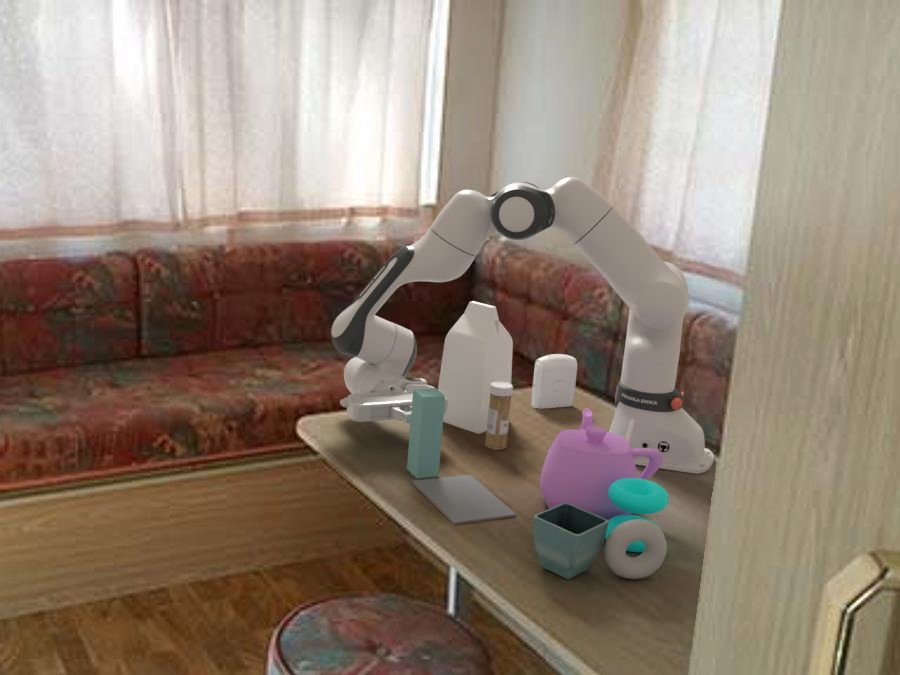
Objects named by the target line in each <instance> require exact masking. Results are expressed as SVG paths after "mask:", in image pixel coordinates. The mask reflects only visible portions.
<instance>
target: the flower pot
mask: <svg viewBox="0 0 900 675" xmlns="http://www.w3.org/2000/svg"><path fill="white" fill-rule="evenodd" d="M608 524H609V520H607V519H604V518H602V517H600V516H597V515H595V514H593V513H590V512H588V511H586V510H583V509H581V508H579V507H576V506H574V505H572V504H569V503H562V504H559V505H557V506H555V507H553V508H551V509H549V508H548V509H546V510H543V511H542V512H539V513H537V514H535V515H533V544H534V545H533V547H534V551H535V554H536V556H537V558H538V560H539V562H540V564H541V567H543V568H544V569H545V570H548V571H550V572H551V573H553V574H556V575H558V576H560V577H561V578H563V579H567V580H570V579H572V578H574V577H575V576H578V575H580V574H581V573H584V572H585V571H587V570H588V568H590V567H591V565H592V564H593V563H594V562H595V560H596V559H597V557H598V555H599V554H600V552H601V550H602V548H603V544H604V541H605V539H606V538H605V535H606V531H607V528H608Z"/></svg>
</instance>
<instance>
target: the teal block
mask: <svg viewBox="0 0 900 675" xmlns="http://www.w3.org/2000/svg"><path fill="white" fill-rule="evenodd" d="M437 389H438V388H436V387H435V388H427V389H413V399H412V411H411V423H410V424H409V425H410V426H409V438H408V439H409V440H408V449H407V450H408V451H407V463H406V470H407V469H408V470H409V471H410V472H411V473H410V472H409V471H408V470H407V471H408V472H409V473H410V474H411V475H412V476H413V475H414V476H415V477H416V478H417V479H425V478H426V479H428V478H432V477H433V478H437V477H439V473H440V472H439V471H440V461H441V450H442V449H441V448H442V440H443V439H442V438H443V426H444V422H443V417H444V405H445V395H444V394H442V393H441V392H440V391H439V390H437ZM414 476H413V477H414ZM415 477H414V478H415ZM416 478H415V479H416Z"/></svg>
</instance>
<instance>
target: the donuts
mask: <svg viewBox="0 0 900 675" xmlns="http://www.w3.org/2000/svg"><path fill="white" fill-rule="evenodd" d="M608 494H609V498H610V500H611V501H612V502H613V503H614V504H615V505H616V506H617V507H619V508H620V509H622V510H624V511H627V512H630V513H631V514H630V515H619V516H615V517H613V518H611V519H609V524H608V528H607V531H606V535H605V538H604V539H605V541H606V540H607V538H608V536H609V535H610V533H611V532H612V531H613V530H614V529H615V528H616V527H617V526H618V525H620V524H622V523H624V522H626V521H629V520H636V519H641V520H646V521H649V522H651V523H653V524H655V525H657V523H655V522H654V521H652V519H648V518H646V517H645V516H641V515H653V514H657V513H659V512H661V511H663V510H664V509H665V508H666V507H667V506H668V504H669V500H670V499H669V493H668V492H667V491H666V488H664V487H663V486H662V485H660V484H658V483H656V482H653V481H651V480H650V479H648V480H645V479H639V478H624V479H619V480H617V481H615V482H613V483H612V484H611V485H610V487H609V490H608ZM659 529H660V530H661V531H662V529H661V527H659ZM644 550H645V543H644V542H642V541H635V542H633V543H631V544H630V545H629V546H628V547H627V549H626V552H631V553H643V552H644Z"/></svg>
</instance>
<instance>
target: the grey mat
mask: <svg viewBox="0 0 900 675" xmlns="http://www.w3.org/2000/svg"><path fill="white" fill-rule="evenodd" d="M411 484H413V486H415V487H416V488H417V489H418V490H419V492H420V493H422V495H423V496H424V497H425V498H427V499H428V500H429V501H430V502H431V503H432V504H433V505H434V506H435V508H436V509H438V510H439V511H440V512H441V513H442V515H444V516H445V517H446V518H447V519H448V520H449V521H450V522H451V523H452V524H453V525H459V524H461V525H462V524H468V523H469V524H470V523H475V522H483V521H491V520H500V519H506V518H514V517H517V514H516V513H515V512H514V511H513V510H512V509H510V508H509V506H507V504H505V503H504V502H502V501H501V500H500V499H499V498H498V497H497V495H496V496H495V495H494V494H493V493H492V492H491V491H490V490H489V489H487V487H486V486H484V485H483V484H482V483H481V482H479V481H478V480H477V479H476V478H475V476H473V475H471V474H462V475H453V476H445V477H444V476H442V477H433V478H426V479H425V478H423V479H416V480H411Z"/></svg>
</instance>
